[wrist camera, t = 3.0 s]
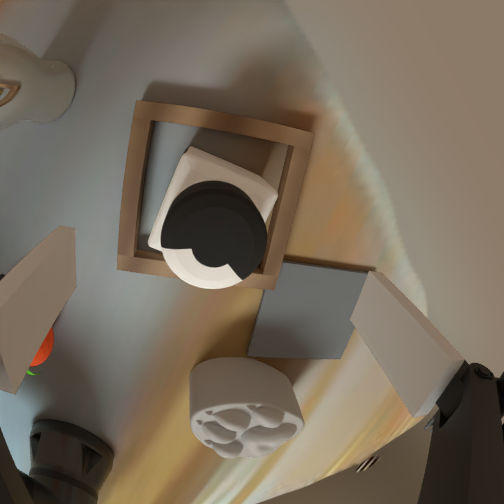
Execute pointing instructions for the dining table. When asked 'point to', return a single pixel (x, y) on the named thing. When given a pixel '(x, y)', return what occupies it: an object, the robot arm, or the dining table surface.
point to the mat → (307, 312)
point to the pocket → (151, 111)
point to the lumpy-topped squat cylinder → (242, 407)
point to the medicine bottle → (213, 221)
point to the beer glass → (31, 85)
